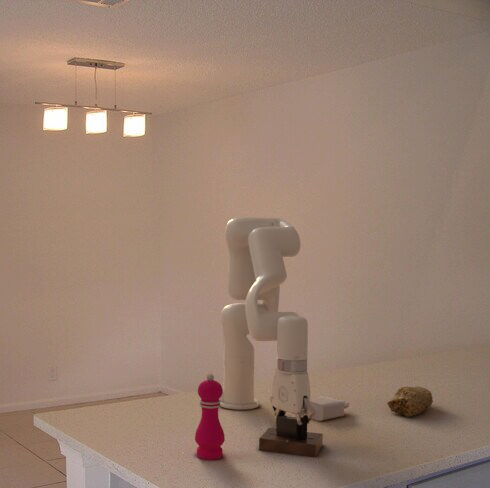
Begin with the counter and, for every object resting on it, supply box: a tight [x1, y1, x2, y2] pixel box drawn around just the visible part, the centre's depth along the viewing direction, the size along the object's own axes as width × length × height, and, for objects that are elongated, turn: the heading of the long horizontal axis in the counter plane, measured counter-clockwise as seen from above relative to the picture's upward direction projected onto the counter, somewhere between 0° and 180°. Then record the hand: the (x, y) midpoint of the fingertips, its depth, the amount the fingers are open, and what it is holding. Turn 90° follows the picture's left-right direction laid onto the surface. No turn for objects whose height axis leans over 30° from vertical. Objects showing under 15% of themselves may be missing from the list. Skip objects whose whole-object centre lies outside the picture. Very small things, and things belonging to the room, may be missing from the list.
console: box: [258, 427, 324, 458], centre depth 182 cm, size 14×11×3 cm
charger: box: [310, 395, 350, 422], centre depth 215 cm, size 5×9×15 cm
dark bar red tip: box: [277, 415, 303, 437], centre depth 182 cm, size 7×2×5 cm, turn 70°
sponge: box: [386, 386, 434, 417], centre depth 220 cm, size 13×8×20 cm
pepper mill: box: [194, 373, 226, 461], centre depth 176 cm, size 7×7×20 cm
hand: (291, 435), depth 182 cm, fingers closed on dark bar red tip, 6 cm apart
